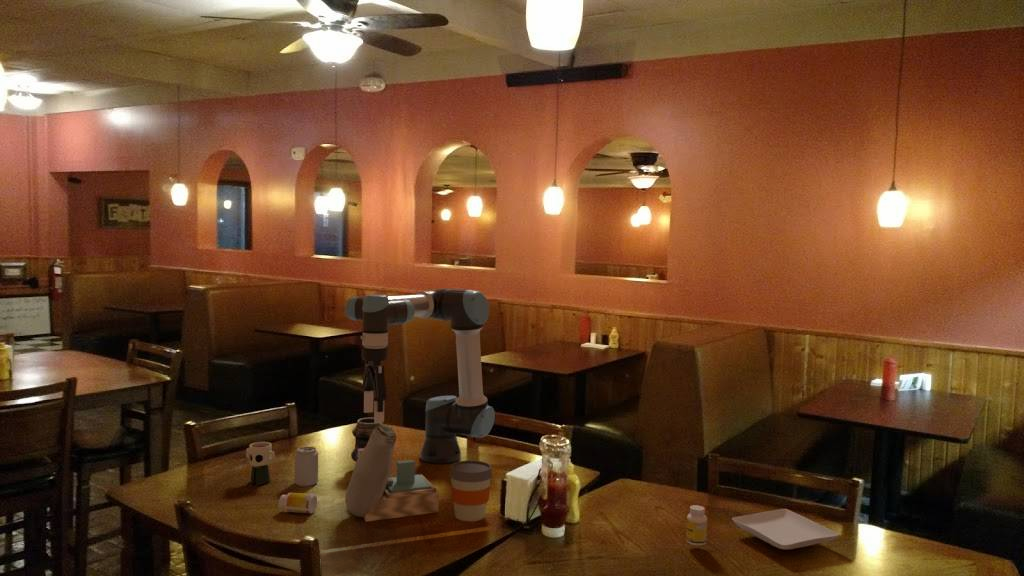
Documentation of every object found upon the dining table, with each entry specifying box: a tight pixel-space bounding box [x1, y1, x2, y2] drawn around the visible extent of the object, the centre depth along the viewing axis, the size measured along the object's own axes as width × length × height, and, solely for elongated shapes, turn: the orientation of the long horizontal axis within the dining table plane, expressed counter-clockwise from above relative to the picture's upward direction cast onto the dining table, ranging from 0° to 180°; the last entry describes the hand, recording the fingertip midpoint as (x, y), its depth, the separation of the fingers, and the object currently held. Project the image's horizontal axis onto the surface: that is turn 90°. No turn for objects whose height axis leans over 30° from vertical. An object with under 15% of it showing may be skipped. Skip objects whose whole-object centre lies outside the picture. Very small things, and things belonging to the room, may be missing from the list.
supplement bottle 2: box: [685, 504, 708, 546], centre depth 206 cm, size 5×5×10 cm
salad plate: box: [731, 508, 840, 550], centre depth 212 cm, size 21×21×3 cm
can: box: [294, 446, 319, 488], centre depth 245 cm, size 8×8×12 cm
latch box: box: [362, 473, 440, 522], centre depth 226 cm, size 22×16×7 cm
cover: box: [386, 459, 430, 493], centre depth 227 cm, size 12×12×8 cm
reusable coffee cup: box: [449, 459, 493, 522], centre depth 221 cm, size 12×12×15 cm
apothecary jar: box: [350, 417, 383, 463], centre depth 261 cm, size 12×12×18 cm
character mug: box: [245, 441, 276, 486], centre depth 245 cm, size 11×7×13 cm, turn 72°
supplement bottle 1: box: [278, 492, 318, 514], centre depth 221 cm, size 6×6×10 cm
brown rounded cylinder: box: [344, 424, 397, 518], centre depth 216 cm, size 10×10×28 cm
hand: (373, 417), depth 222 cm, fingers open, 13 cm apart
